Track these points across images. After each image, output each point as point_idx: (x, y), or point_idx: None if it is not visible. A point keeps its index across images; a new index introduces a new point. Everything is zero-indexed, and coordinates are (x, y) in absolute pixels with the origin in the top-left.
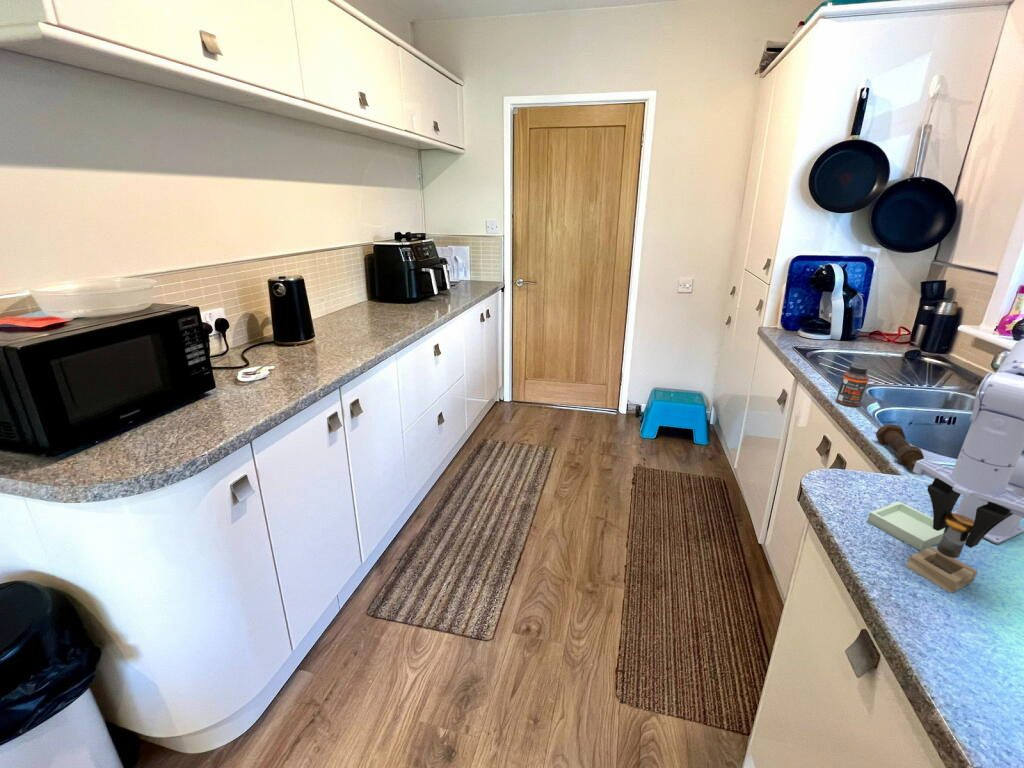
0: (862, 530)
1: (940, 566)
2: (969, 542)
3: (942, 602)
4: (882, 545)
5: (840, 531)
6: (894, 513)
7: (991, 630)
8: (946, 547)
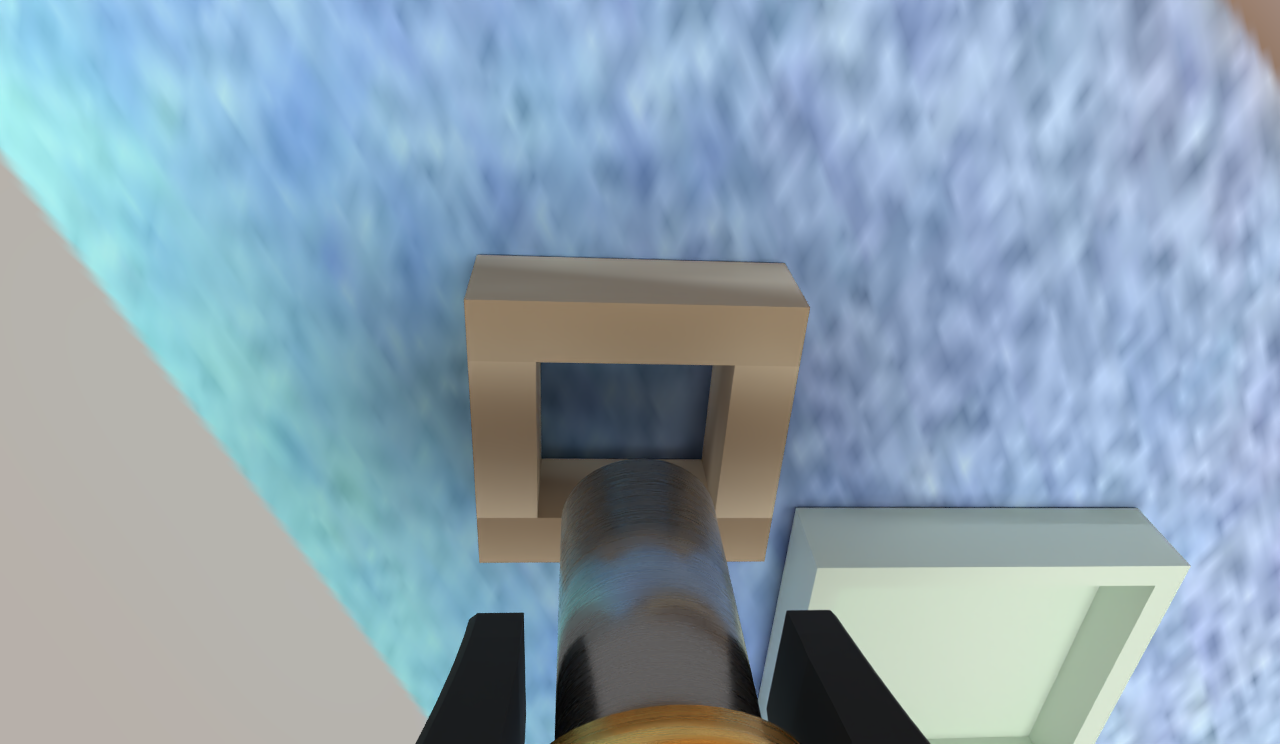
0: (1135, 390)
1: None
2: (482, 652)
3: (436, 77)
4: (982, 351)
5: (1268, 227)
6: (1036, 695)
7: (108, 91)
8: (646, 513)
